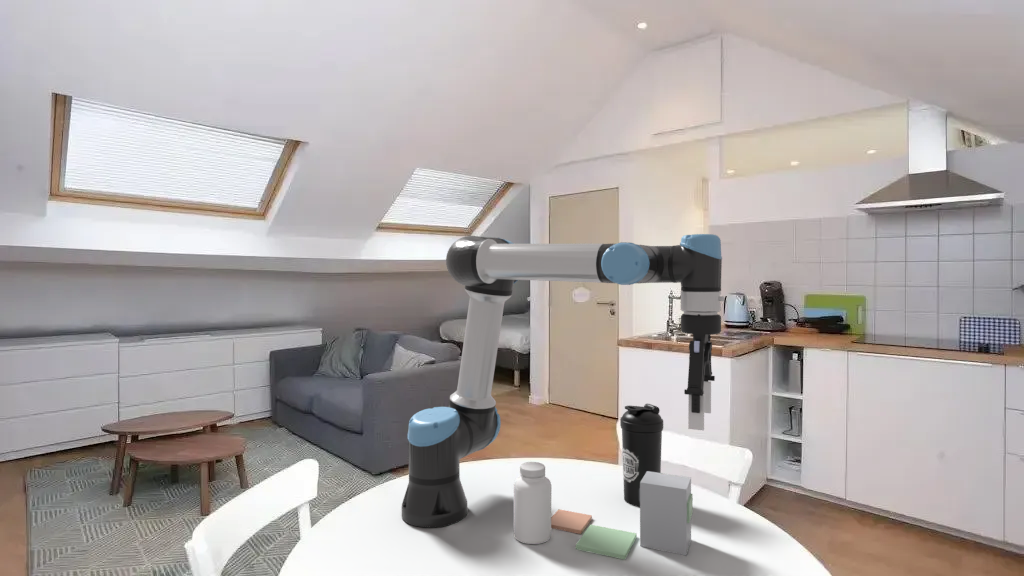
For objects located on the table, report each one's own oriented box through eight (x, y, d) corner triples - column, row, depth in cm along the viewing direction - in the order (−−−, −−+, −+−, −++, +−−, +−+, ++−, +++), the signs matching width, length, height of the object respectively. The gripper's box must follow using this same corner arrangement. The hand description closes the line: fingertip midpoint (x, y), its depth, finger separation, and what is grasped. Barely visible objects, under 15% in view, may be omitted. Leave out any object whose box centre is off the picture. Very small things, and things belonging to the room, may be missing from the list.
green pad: (575, 549, 111) (575, 545, 111) (590, 528, 120) (590, 524, 120) (625, 559, 107) (625, 555, 107) (636, 537, 116) (636, 533, 116)
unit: (638, 545, 112) (638, 482, 112) (645, 531, 118) (645, 470, 118) (688, 555, 108) (688, 489, 108) (693, 540, 114) (693, 477, 114)
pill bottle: (549, 547, 112) (548, 473, 111) (510, 543, 113) (509, 471, 113) (553, 529, 120) (553, 460, 119) (517, 526, 121) (516, 458, 121)
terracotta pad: (545, 527, 121) (545, 523, 121) (558, 512, 128) (558, 509, 128) (580, 534, 117) (580, 530, 117) (592, 518, 124) (592, 515, 124)
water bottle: (612, 495, 137) (612, 403, 137) (646, 489, 141) (646, 399, 141) (637, 511, 128) (636, 413, 127) (672, 504, 132) (672, 408, 131)
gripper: (715, 318, 96) (714, 440, 96) (725, 309, 119) (725, 408, 119) (671, 317, 99) (670, 434, 100) (689, 308, 122) (688, 404, 122)
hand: (700, 420), depth 109 cm, fingers open, 13 cm apart
